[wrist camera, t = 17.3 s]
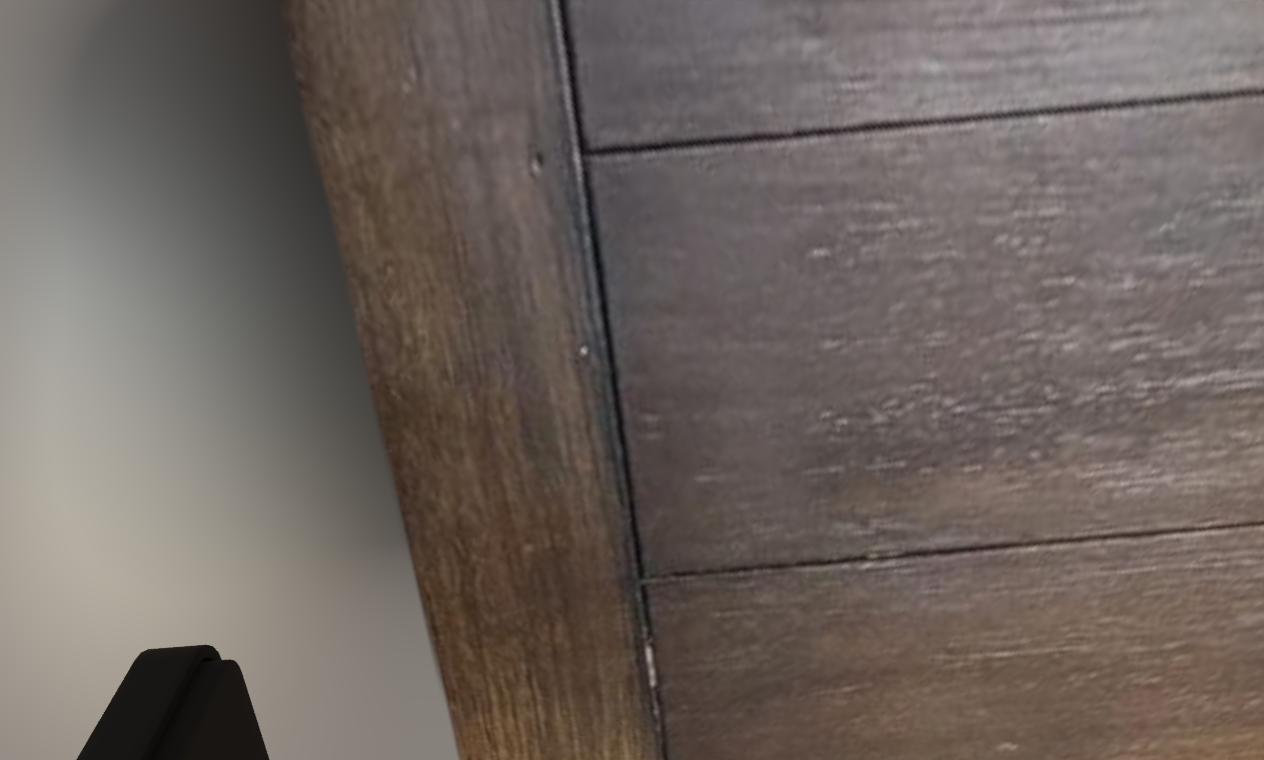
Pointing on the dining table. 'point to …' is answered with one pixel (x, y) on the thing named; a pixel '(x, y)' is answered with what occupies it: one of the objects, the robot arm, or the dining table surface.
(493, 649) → the dining table surface
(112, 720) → the robot arm
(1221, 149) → the dining table surface
